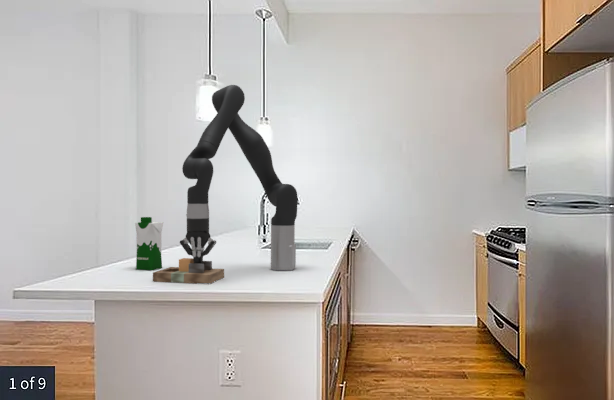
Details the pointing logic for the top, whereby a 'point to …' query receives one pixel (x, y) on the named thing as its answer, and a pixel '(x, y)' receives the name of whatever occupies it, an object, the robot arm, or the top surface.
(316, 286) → the top surface
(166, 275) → the wooden tray
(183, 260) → the orange block
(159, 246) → the milk carton
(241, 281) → the top surface
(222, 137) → the robot arm
